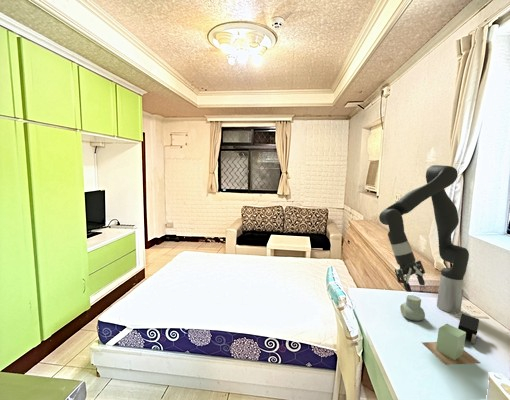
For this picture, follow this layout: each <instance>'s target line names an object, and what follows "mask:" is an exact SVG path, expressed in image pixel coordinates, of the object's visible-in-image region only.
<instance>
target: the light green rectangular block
mask: <svg viewBox="0 0 510 400" xmlns="http://www.w3.org/2000/svg"><path fill="white" fill-rule="evenodd" d="M437 332H438V333H437V339H436V342H437V345H436V350H437V351H439V352H441V353H443V354H445V355H446V356H448V357H450V358H452V359H454V360H456V359H457V358H459V357H460V356H461V355H463V350H465V349H464V348H465V343H466V342H465V341H466V339H465V337H466V332H464V331H462V330H460V329H458V327H455V326H453V325H451V324H449V323H445V324H444V325H442V326H440V327H438V331H437Z"/></svg>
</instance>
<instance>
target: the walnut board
mask: <svg viewBox="0 0 510 400" xmlns="http://www.w3.org/2000/svg"><path fill="white" fill-rule="evenodd" d="M421 344H422V345H423V346H424V347H426V348H427V349H428V350H429V351H430V352H431V353H432V354H434V356H435V357H436V358H438V359H439V360H440V361H441V362H442V363H443V364H444V365H445V366H447V365H449V366H450V365H467V364H469V365H470V364H471V365H472V364H481V361H479V360H478V359H476V358H475V357H474V356H472V355H471V354H470V353H469V352H467V350H465V349H464V350H463V355H461V356H460V357H459V358H457V359H456V360H454V359H452V358H450V357H448V356H446V355H445V354H443V353H441V352H439V351H437V350H436V345H437V341H430V342H429V341H425V342H424V341H423V342H422V341H421Z"/></svg>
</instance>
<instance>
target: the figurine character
mask: <svg viewBox="0 0 510 400" xmlns="http://www.w3.org/2000/svg"><path fill="white" fill-rule="evenodd" d="M479 323H480V319H479V318H476V317H474V316H470V315H468V314H465V313H461V315H460V319H459V322H458V327H457V328H458V329H460V330H462V331H464V332H466V337H465V341H469V342H470V343H471V344H473V345H475V344H476V340H477V339H478V331H479V330H478V329H479Z"/></svg>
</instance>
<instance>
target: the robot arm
mask: <svg viewBox="0 0 510 400" xmlns="http://www.w3.org/2000/svg"><path fill="white" fill-rule="evenodd" d="M425 171H426V173H425V180H426V184H424V185H422V186H419V187H416V188H415V189H412V190H411V191H408V192H407V193H406V194H404V195H402V196H401V197H400V198H399V199H398V200H396V202H394V203H393V204H391V205H389V206H388V207H386V208H385V209H383V210H382V211H381V213H380V214H379V215H378V216H379V217H378V218H379V222H380V223H381V224H383V225H384V226H388V229H389V231H388V233H387V236H388V237H387V238H388V241H389V242H390V245H391V250H392V253H393V255H394V258H395V261H396V263H397V265H399V268H397V269H394V273H395V276H396V279H397V282H398V283H399V284H403V288H404V289H405V291H406V292H408V293H411V292H412V291H413V290H412V288H411V285H410V283H409V282H410V281H409V280H410V278H411V276H412V275H415V276H416V279H417V282H418V284H419V285H420V286H425V284H426V282H425V278H424V274H426V270H425V268H424V266H423V264H422V261H421V260H416V257H415V255H414V252H413V249H412V246H411V244H410V242H409V241H408V237H407V235H406V234H407V233H405V225H404V220H403V219H404V218H403V216H404V215H406V214H409V213H411V211H413V210H414V209H415V208H417V207H418V206H419V205H421V203H423V202H424V201H426V200H428V199H429V198H431V202H432V203H431V204H432V207H433V213H434V220H435V224H436V230H437V237H438V254H439V257H440V259H441V260H443V261H444V262H447V263H450V264H452V265H451V267H443V268H442V269H441V270H440V271H441V272H440V278H439V283H438V292H437V293H438V294H437V299H436V307H437V308H438V307H439V308H438V309H440V310H441V309H442V311H444V312H446V313H451V314H456V313H459V312H461V311H462V303H463V297H464V294H463V292H462V290H463V289H462V288H463V284H464V278H465V275H466V272H467V268H468V263H469V258H470V253H469V250H468V248H465V247H463V246H460V245H456V244H453V241H452V234H453V232H454V231H455V230H456V229H457V227H458V225H459V222H460V221H459V213H458V212H459V211H458V208H457V206H456V205H455V203H454V202H453V200H452V199H451V198H450V197H449V195H448V193H446V188H448V187H450V186H451V185H453V184H454V183H455V182H456V181H457V179H458V175H459V173H458V170H457V168H455V167H454V166H451V165H439V164H434V165H430V166H429V167H428V168H427V169H426V170H425Z"/></svg>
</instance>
